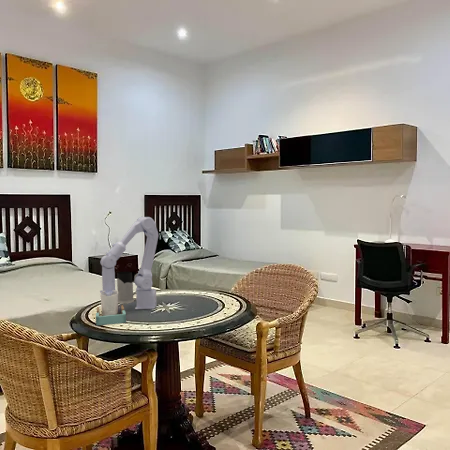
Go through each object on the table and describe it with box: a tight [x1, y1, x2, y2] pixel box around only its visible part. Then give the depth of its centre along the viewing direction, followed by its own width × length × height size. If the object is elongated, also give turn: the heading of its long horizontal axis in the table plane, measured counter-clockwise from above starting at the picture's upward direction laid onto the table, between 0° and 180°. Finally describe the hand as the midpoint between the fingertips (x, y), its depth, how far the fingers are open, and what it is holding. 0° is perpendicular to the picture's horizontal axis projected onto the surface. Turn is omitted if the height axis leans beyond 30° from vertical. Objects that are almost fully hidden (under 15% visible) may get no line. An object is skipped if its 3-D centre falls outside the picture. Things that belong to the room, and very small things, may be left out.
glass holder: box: [116, 271, 138, 305], centre depth 232 cm, size 9×14×15 cm, turn 127°
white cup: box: [99, 289, 119, 316], centre depth 204 cm, size 8×8×10 cm
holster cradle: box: [96, 304, 125, 314], centre depth 206 cm, size 12×8×3 cm, turn 105°
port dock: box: [95, 309, 127, 326], centre depth 193 cm, size 12×8×4 cm, turn 105°
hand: (109, 309), depth 209 cm, fingers closed, pressing on white cup
